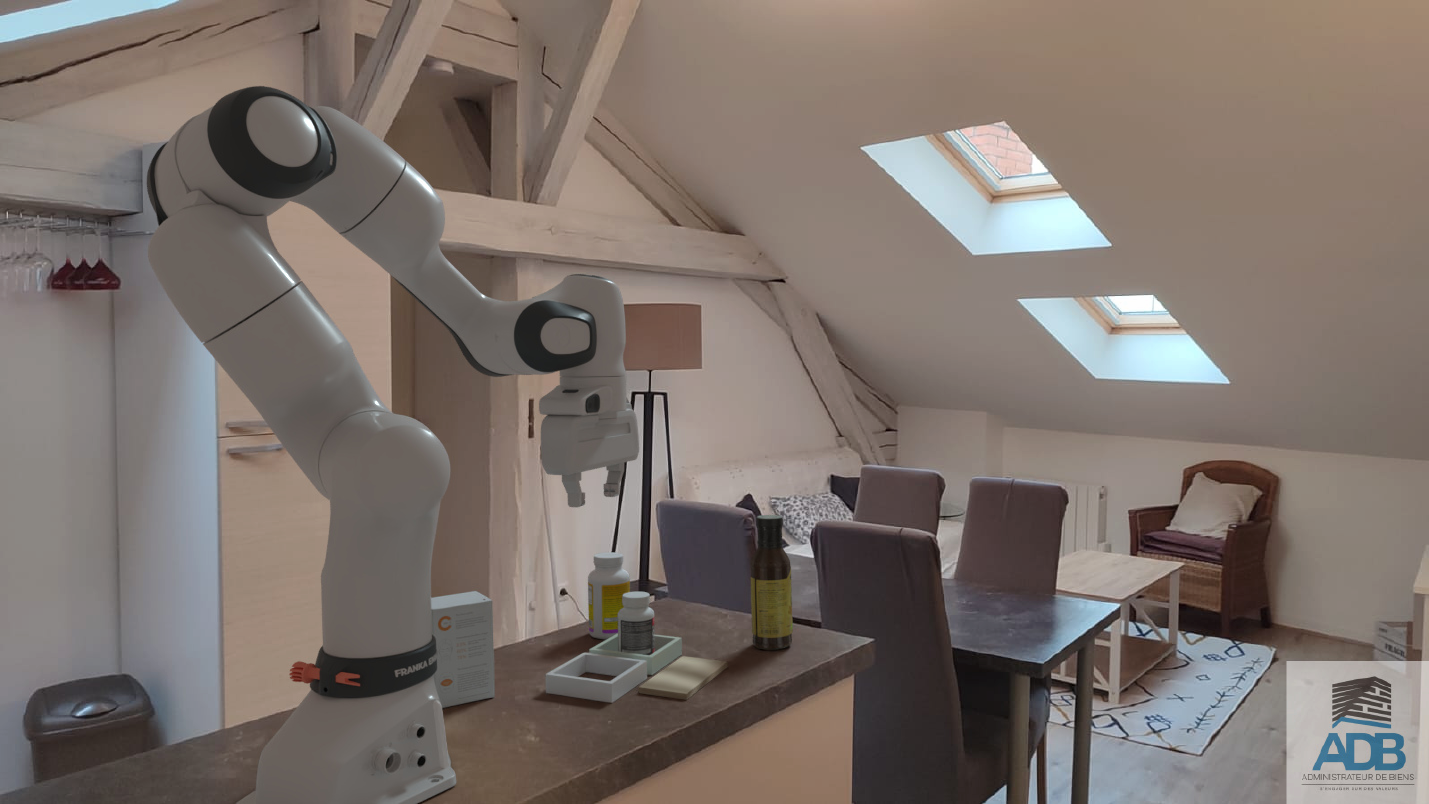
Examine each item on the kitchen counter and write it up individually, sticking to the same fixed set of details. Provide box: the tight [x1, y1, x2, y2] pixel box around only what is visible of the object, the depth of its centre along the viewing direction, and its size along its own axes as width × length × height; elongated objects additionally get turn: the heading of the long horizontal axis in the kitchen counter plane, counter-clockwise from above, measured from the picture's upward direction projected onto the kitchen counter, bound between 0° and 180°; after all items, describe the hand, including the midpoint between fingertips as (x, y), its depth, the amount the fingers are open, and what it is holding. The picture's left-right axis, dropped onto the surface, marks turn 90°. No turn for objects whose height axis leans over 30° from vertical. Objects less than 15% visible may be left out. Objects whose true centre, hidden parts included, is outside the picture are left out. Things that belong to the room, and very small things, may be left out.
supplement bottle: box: [587, 551, 631, 640], centre depth 154 cm, size 7×7×13 cm
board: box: [638, 655, 728, 701], centre depth 133 cm, size 14×7×1 cm, turn 157°
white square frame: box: [545, 652, 648, 704], centre depth 131 cm, size 10×10×2 cm
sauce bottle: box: [750, 514, 794, 651], centre depth 148 cm, size 6×6×20 cm
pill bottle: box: [618, 591, 656, 655], centre depth 141 cm, size 5×5×10 cm
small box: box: [431, 590, 496, 709], centre depth 127 cm, size 8×6×13 cm
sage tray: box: [588, 633, 683, 676], centre depth 141 cm, size 10×10×2 cm
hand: (594, 501), depth 130 cm, fingers open, 8 cm apart
